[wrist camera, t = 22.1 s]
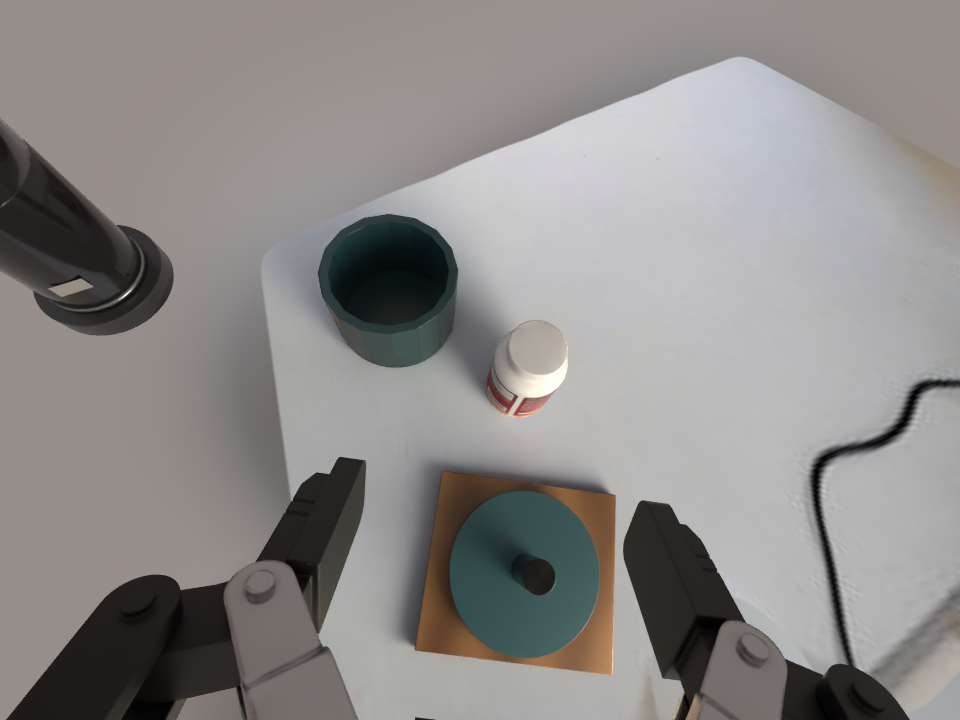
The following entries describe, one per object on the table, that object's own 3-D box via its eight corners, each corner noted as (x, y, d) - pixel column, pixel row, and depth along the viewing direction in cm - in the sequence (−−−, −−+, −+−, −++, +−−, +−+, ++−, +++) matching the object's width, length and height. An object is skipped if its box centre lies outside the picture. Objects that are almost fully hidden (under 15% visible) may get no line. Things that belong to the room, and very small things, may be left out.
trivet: (415, 647, 36) (414, 650, 35) (442, 471, 41) (442, 470, 40) (608, 671, 37) (612, 675, 36) (612, 495, 42) (616, 494, 41)
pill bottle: (551, 367, 45) (584, 321, 35) (541, 425, 43) (573, 395, 33) (492, 352, 45) (508, 302, 35) (478, 410, 43) (491, 375, 33)
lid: (437, 644, 35) (437, 669, 29) (460, 482, 40) (464, 474, 34) (593, 664, 36) (625, 693, 30) (598, 501, 40) (627, 497, 34)
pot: (327, 358, 44) (302, 321, 36) (354, 258, 48) (337, 205, 40) (444, 375, 44) (446, 343, 36) (461, 275, 48) (465, 226, 40)
